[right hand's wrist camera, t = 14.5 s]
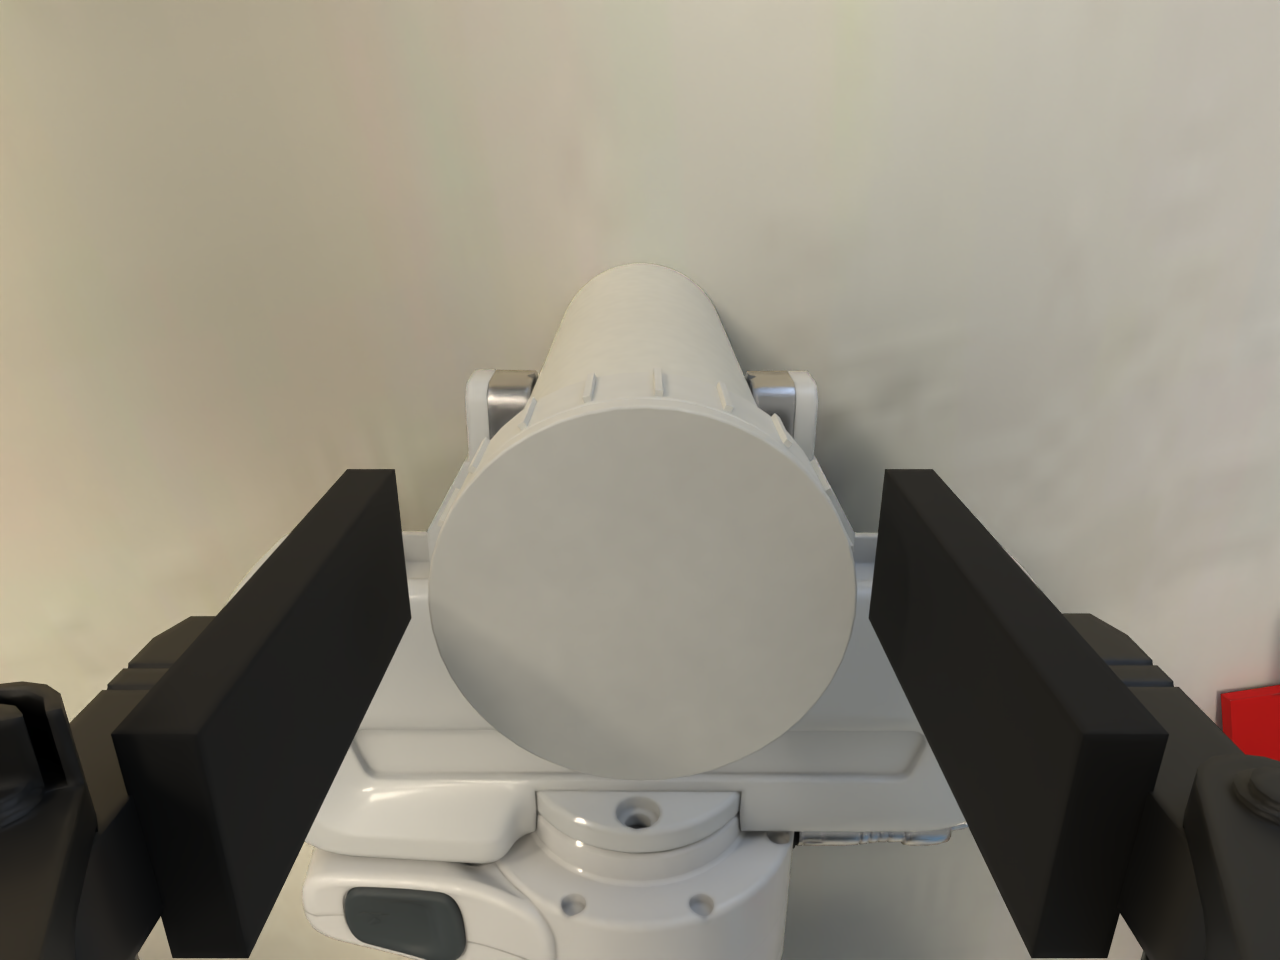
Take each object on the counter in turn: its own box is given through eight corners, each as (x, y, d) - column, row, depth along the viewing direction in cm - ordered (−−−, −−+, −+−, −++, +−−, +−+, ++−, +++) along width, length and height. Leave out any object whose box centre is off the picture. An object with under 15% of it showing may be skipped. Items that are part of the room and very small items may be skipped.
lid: (700, 767, 15) (708, 840, 13) (385, 612, 14) (353, 673, 12) (914, 494, 13) (952, 544, 11) (568, 287, 12) (557, 312, 10)
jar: (667, 452, 27) (696, 788, 13) (529, 374, 26) (404, 646, 12) (755, 318, 26) (893, 540, 12) (611, 229, 25) (574, 355, 11)
